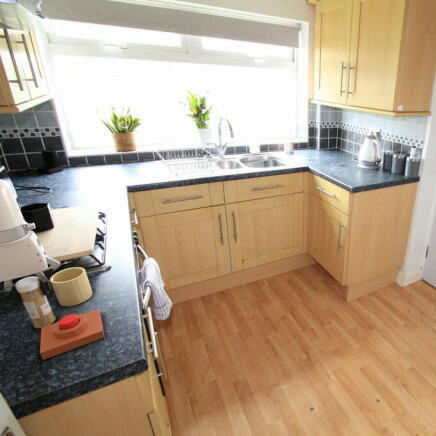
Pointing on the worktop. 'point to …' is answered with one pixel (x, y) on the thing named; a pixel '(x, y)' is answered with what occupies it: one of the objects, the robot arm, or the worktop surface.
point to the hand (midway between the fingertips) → (33, 296)
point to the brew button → (68, 322)
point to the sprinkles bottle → (35, 301)
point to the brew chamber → (71, 286)
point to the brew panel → (71, 335)
